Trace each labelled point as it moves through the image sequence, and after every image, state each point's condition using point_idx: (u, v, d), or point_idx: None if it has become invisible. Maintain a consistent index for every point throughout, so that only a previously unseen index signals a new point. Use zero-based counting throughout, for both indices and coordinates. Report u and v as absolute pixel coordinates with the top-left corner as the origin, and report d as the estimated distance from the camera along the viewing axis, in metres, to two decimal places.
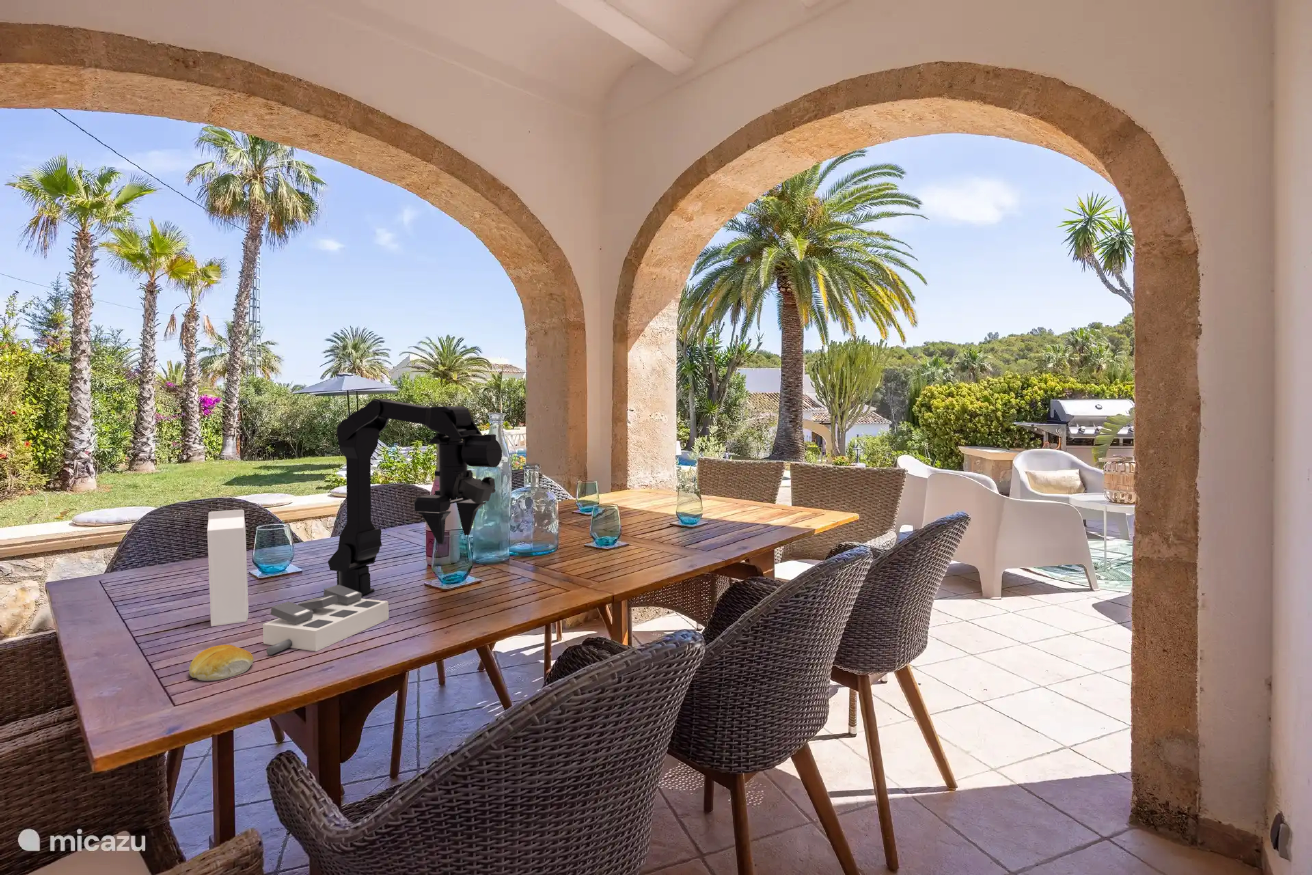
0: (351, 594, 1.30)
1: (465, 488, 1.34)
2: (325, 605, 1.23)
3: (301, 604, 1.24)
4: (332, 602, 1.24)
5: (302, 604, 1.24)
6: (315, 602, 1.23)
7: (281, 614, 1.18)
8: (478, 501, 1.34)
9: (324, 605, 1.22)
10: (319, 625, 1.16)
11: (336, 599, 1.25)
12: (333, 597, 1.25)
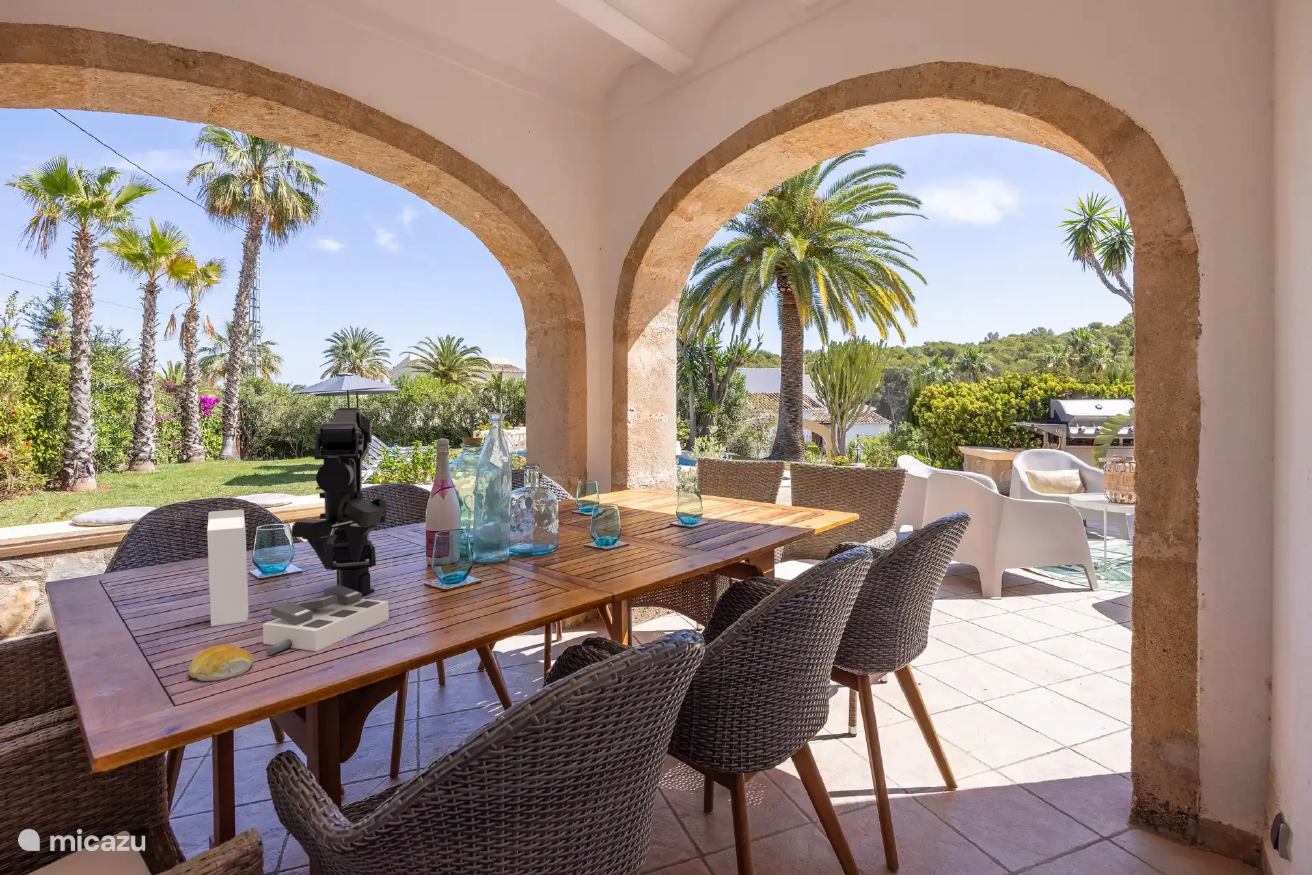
0: (351, 594, 1.30)
1: (350, 511, 1.26)
2: (325, 605, 1.23)
3: (301, 604, 1.24)
4: (332, 602, 1.24)
5: (302, 604, 1.24)
6: (315, 602, 1.23)
7: (281, 614, 1.18)
8: (363, 525, 1.26)
9: (324, 605, 1.22)
10: (319, 625, 1.16)
11: (336, 599, 1.25)
12: (333, 597, 1.25)
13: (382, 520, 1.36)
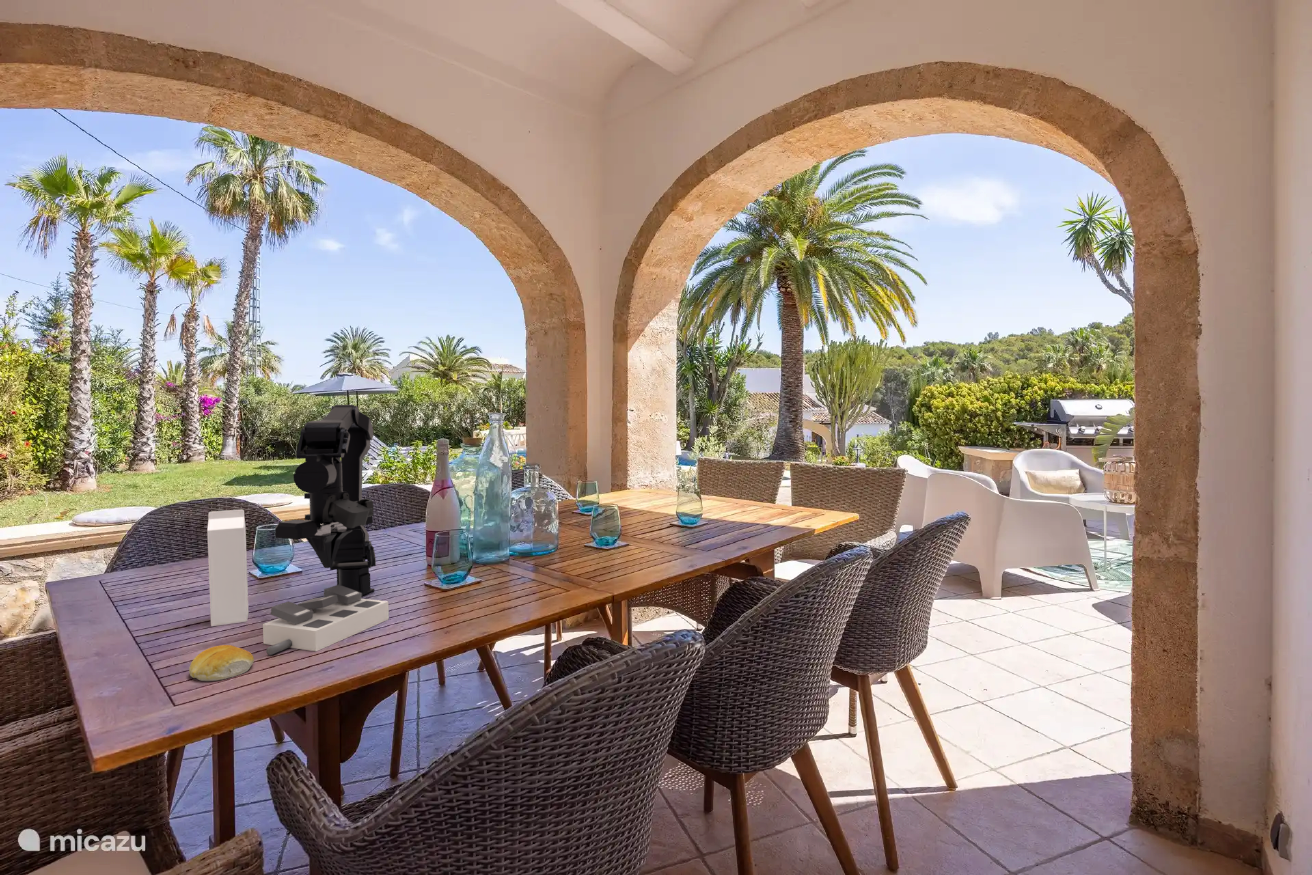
0: (351, 594, 1.30)
1: (336, 512, 1.23)
2: (325, 605, 1.23)
3: (301, 604, 1.24)
4: (332, 602, 1.24)
5: (302, 604, 1.24)
6: (315, 602, 1.23)
7: (281, 614, 1.18)
8: (349, 526, 1.22)
9: (324, 605, 1.22)
10: (319, 625, 1.16)
11: (336, 599, 1.25)
12: (333, 597, 1.25)
13: (369, 522, 1.33)
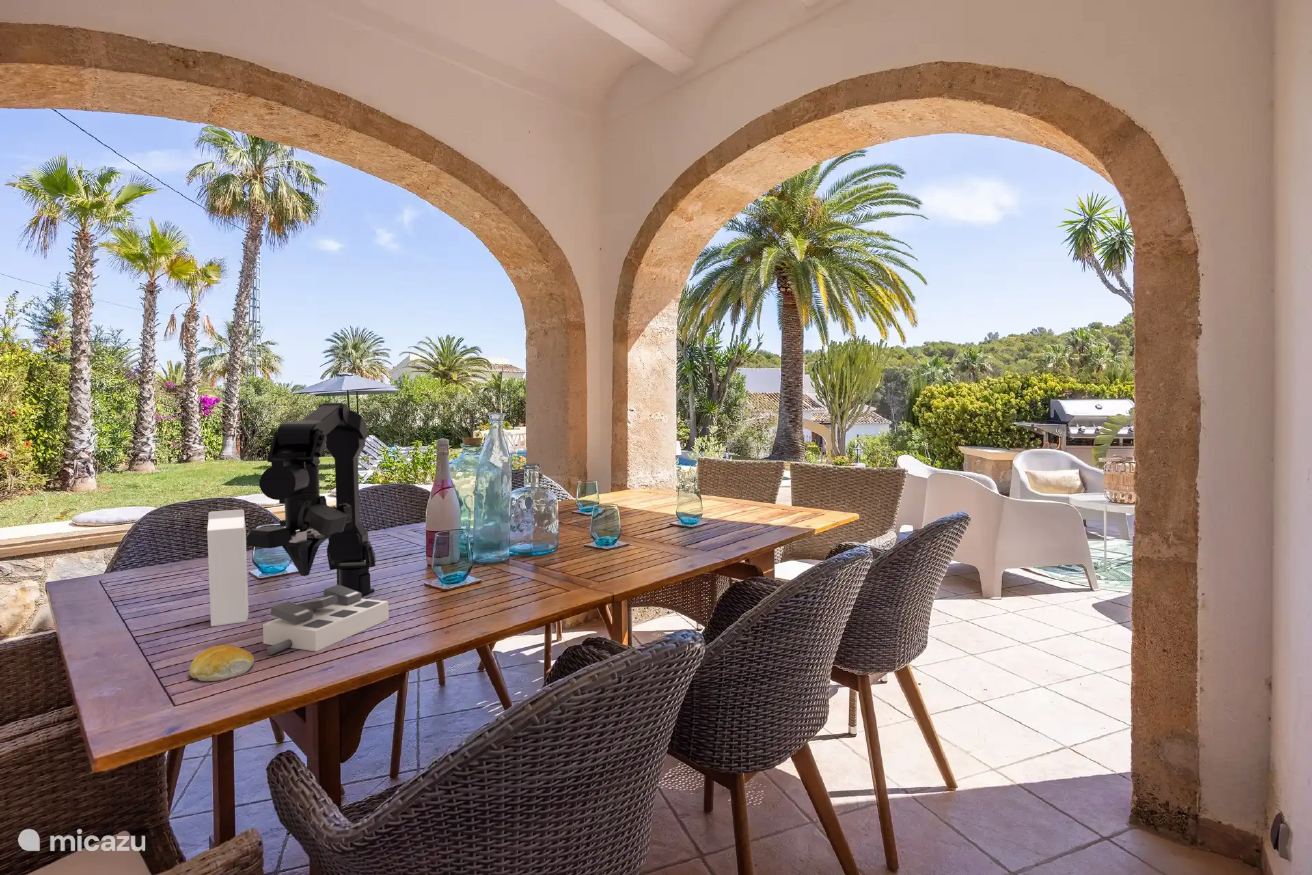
0: (351, 594, 1.30)
1: (311, 518, 1.17)
2: (325, 605, 1.23)
3: (301, 604, 1.24)
4: (332, 602, 1.24)
5: (302, 604, 1.24)
6: (315, 602, 1.23)
7: (281, 614, 1.18)
8: (325, 533, 1.16)
9: (324, 605, 1.22)
10: (319, 625, 1.16)
11: (336, 599, 1.25)
12: (333, 597, 1.25)
13: (349, 527, 1.27)
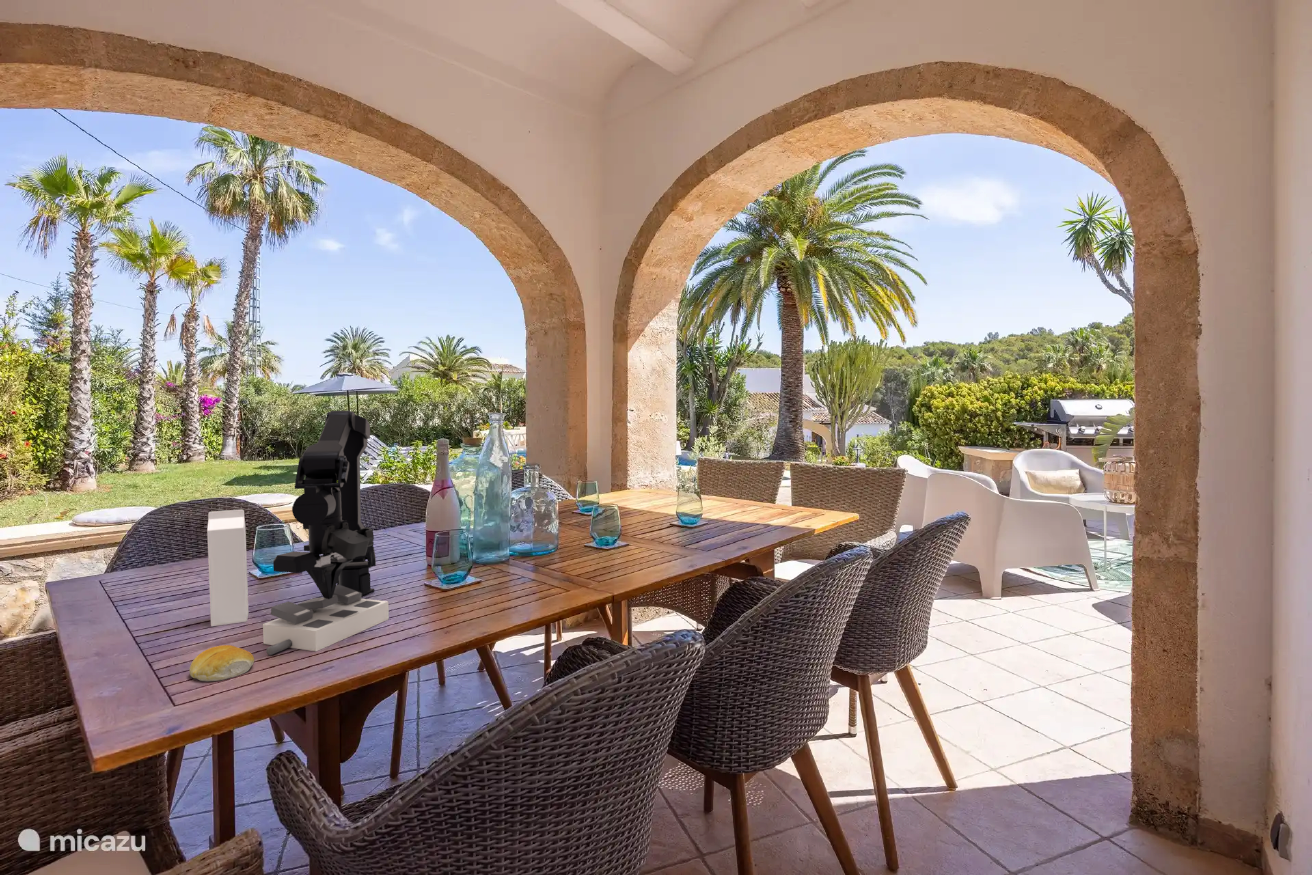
0: (351, 594, 1.30)
1: (335, 543, 1.20)
2: (325, 605, 1.23)
3: (301, 604, 1.24)
4: (332, 602, 1.24)
5: (302, 604, 1.24)
6: (315, 602, 1.23)
7: (281, 614, 1.18)
8: (349, 557, 1.19)
9: (324, 605, 1.22)
10: (319, 625, 1.16)
11: (336, 599, 1.25)
12: (333, 597, 1.25)
13: (370, 550, 1.30)
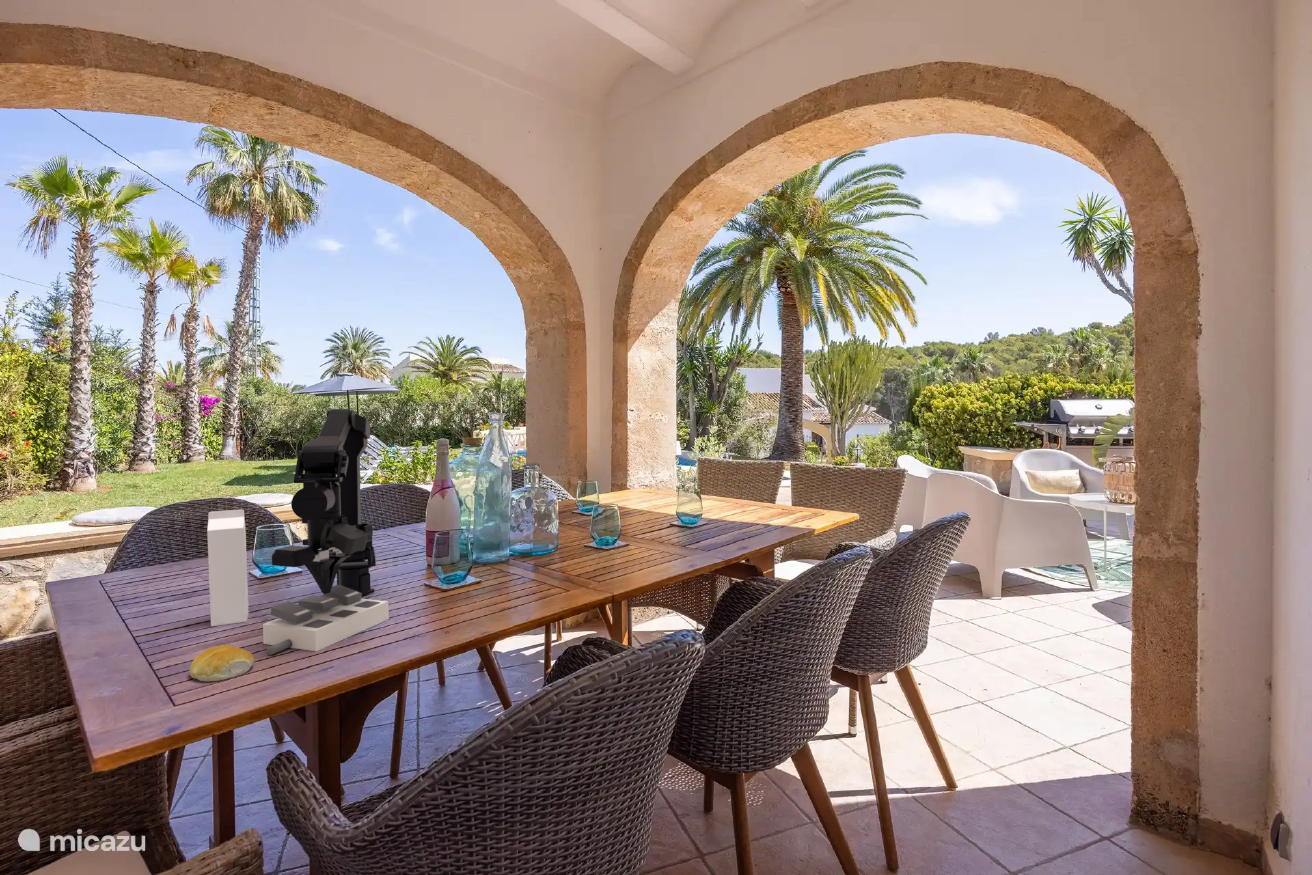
0: (351, 594, 1.30)
1: (334, 537, 1.20)
2: (325, 608, 1.23)
3: (301, 602, 1.24)
4: (332, 605, 1.24)
5: (302, 602, 1.24)
6: (316, 604, 1.23)
7: (281, 614, 1.18)
8: (347, 552, 1.19)
9: (324, 609, 1.23)
10: (319, 625, 1.16)
11: (337, 602, 1.25)
12: (334, 600, 1.25)
13: (369, 545, 1.30)
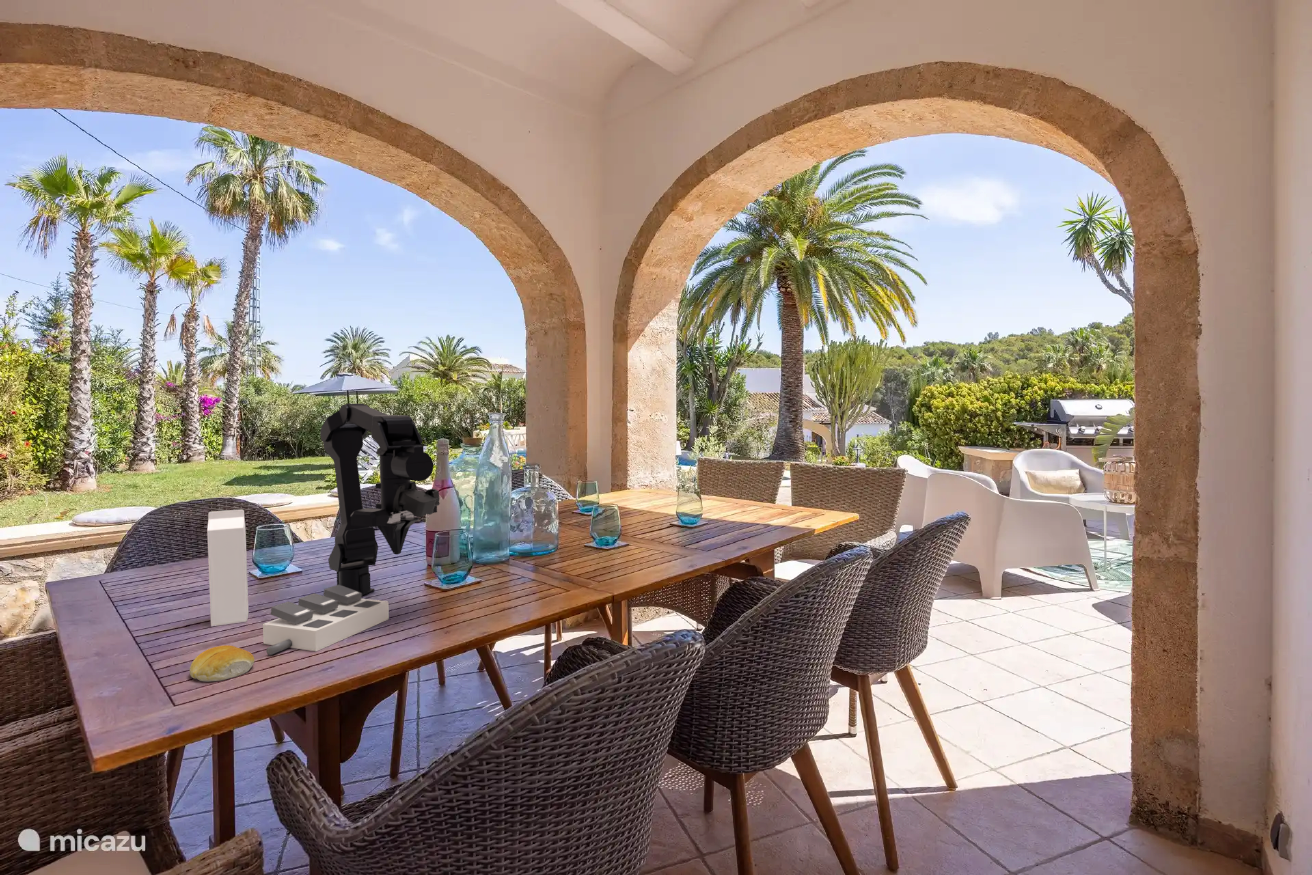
0: (351, 594, 1.30)
1: (405, 501, 1.29)
2: (325, 611, 1.23)
3: (302, 600, 1.24)
4: (332, 608, 1.24)
5: (303, 601, 1.24)
6: (316, 605, 1.23)
7: (281, 614, 1.18)
8: (418, 514, 1.29)
9: (324, 611, 1.23)
10: (319, 625, 1.16)
11: (337, 605, 1.25)
12: (334, 603, 1.25)
13: (434, 511, 1.39)
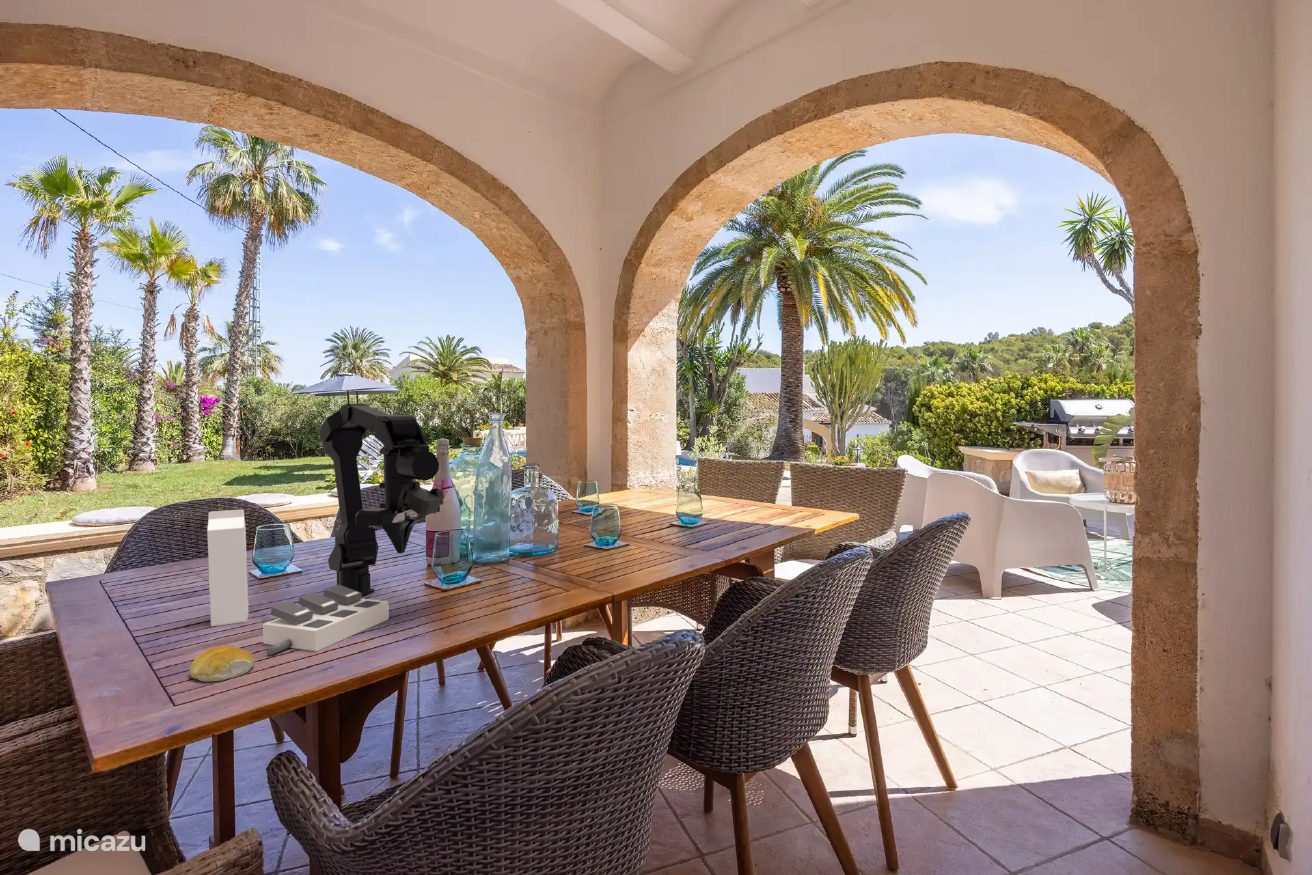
0: (351, 594, 1.30)
1: (410, 500, 1.30)
2: (325, 612, 1.23)
3: (303, 599, 1.24)
4: (332, 609, 1.24)
5: (303, 600, 1.24)
6: (317, 606, 1.23)
7: (281, 614, 1.18)
8: (423, 514, 1.29)
9: (324, 612, 1.23)
10: (319, 625, 1.16)
11: (336, 606, 1.25)
12: (335, 605, 1.25)
13: (437, 510, 1.40)
